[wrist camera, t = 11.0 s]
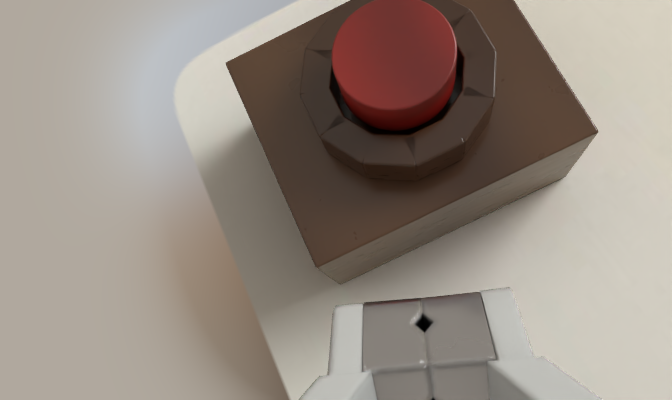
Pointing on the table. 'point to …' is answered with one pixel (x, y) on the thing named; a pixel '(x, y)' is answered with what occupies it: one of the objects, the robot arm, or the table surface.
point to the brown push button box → (410, 136)
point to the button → (395, 63)
